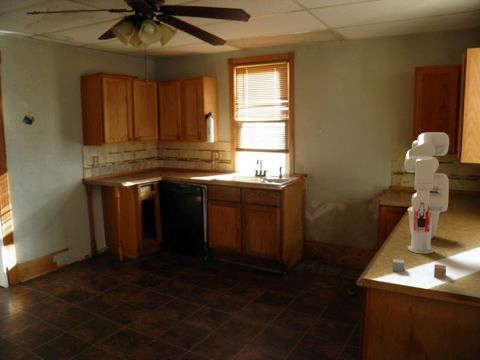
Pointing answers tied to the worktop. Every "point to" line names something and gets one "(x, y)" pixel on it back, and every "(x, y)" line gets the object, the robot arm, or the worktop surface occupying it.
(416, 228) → the soda can
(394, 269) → the slate grey block
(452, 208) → the worktop surface
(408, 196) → the worktop surface
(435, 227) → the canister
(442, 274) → the walnut block
